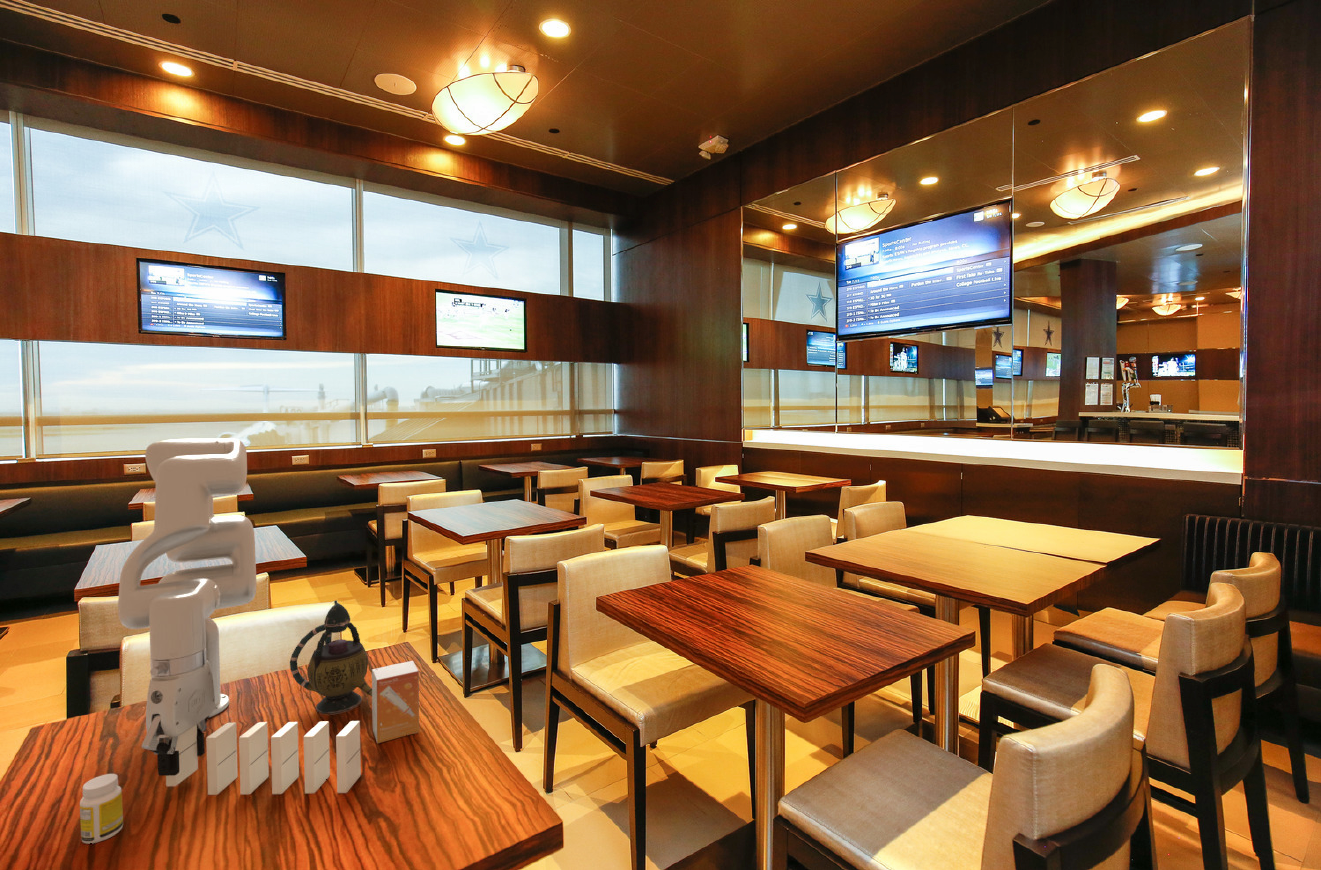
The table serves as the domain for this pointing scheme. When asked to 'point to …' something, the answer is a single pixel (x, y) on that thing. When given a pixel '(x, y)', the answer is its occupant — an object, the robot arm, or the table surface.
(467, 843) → the table surface
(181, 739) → the domino
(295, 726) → the domino
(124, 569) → the robot arm
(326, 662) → the teapot
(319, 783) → the domino
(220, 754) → the domino
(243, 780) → the domino
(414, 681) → the small box
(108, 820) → the supplement bottle
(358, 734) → the domino
